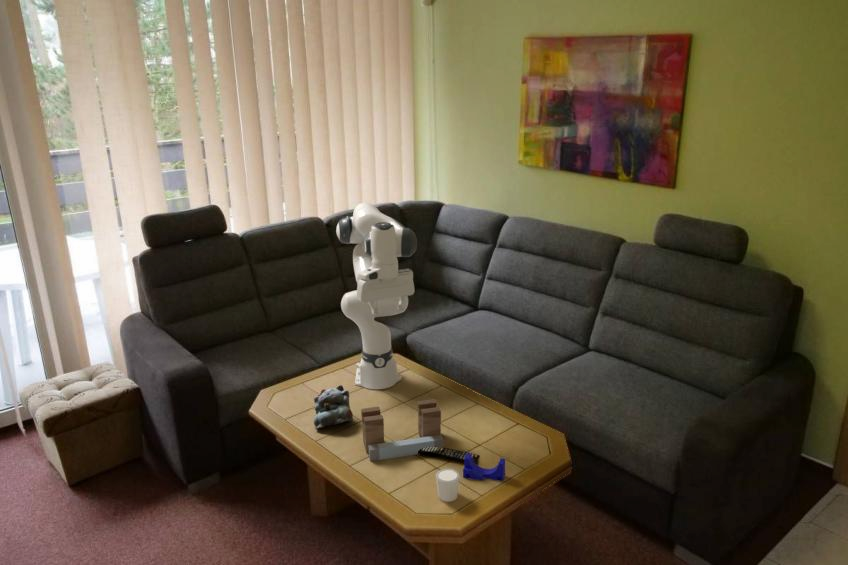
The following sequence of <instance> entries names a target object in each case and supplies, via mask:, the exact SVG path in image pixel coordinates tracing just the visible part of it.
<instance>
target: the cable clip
mask: <svg viewBox="0 0 848 565" xmlns="http://www.w3.org/2000/svg"><path fill="white" fill-rule="evenodd" d="M472 455H473V454H472V453H471V452H466V454H465V455H464V457H463V460H464V462H463V464H464V465H463V469H462V478H464V479H469V480H470V479H471V480H476V481H481V482H482V481H483V480H484V479H487V480H493V481H500V482H504V480H505V477H506V458H504V457H503V458H502V457H500V458H499V462H498V464H497V465H496V466H495V467H491V468H484V467H482V466H479V464H477V463H476V462H475V460H474V459H473V456H472Z"/></svg>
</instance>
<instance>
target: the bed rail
mask: <svg viewBox="0 0 848 565" xmlns="http://www.w3.org/2000/svg"><path fill="white" fill-rule="evenodd" d="M426 447H441V448H443V449H444V438H443V436H442V434H441V435H435V436H428V437H421V438H420V437H417V438H409V439H403V440H401V439H400V440H395V441H388V442H384V443H381V444H374V445H368V449H369V453H368V458H369V462H374V461H382V460H388V459H393V458H401V457H407V456H408V457H409V456H415V455H418V454H417V453H418V451H419V450H420V449H422V448H426ZM414 454H415V455H414Z"/></svg>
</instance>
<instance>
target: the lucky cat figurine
mask: <svg viewBox="0 0 848 565" xmlns="http://www.w3.org/2000/svg"><path fill="white" fill-rule="evenodd" d="M313 402H314V410H315V414H316V415H315V417H313V425H314V426H315V427H314V429H317V430H318V429H322V428H324V427H329V426H334V425H337V424H342V423H346V422H350V421H353V420H354V417H353V416H354V415H353V412H352V410H351V406H350V392H349V390H347V389H344V387H343V385H341V384H340V385H338V386H337V387H335V388H334V387H332V388H329V389H325V388H324V389H321V391H320V394H318V395H315V397H313Z"/></svg>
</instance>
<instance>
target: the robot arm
mask: <svg viewBox="0 0 848 565" xmlns="http://www.w3.org/2000/svg"><path fill="white" fill-rule="evenodd" d="M335 232H336V237H337V238H338V240H339V242H340V243H341V244H343V245H345V244H346V245H350V244H356V245H355V247H354V248H353V252H352V264H353V272H354V276H355V281H356V284H357V287H356V290H352V291H348V292H345V293H344V294H343V296H342V298H341V301H340V308H341V311H342V312H343V314H344V315H345V317H347V318H348V319H350V320H351V321H352V322H354V323H355V324H356V325H357V327H358V329H359V331H360V334H361V342H362V349H361V359H360V362H357V363H356V372H355V379H354V385H355V386H358V387H363V388H366V389H368V390H384V389H389V388H391V387H393V386H394V385H396V383H397V382H400V381H401V380H403V379H402V376H401V374H400V373H399V372H398V365H397V363H398V362H397V360H395V359H394V358H393V348H392V340H391V330H390V328H389V327H388V326H387V325H385V324H384V323H381V322H378V321H376V320H375V318H379V317H387V316H389V317H390V316H395V315H398V314H402V313H404V312H405V311H406V310H407V308H408V305H409V296H413V295H414V293H415V283H414V272H413V270H412V269H410V268H401V269H399V260H398V258H400V257H401V258H402V257H403V258H410V257H412V255H413V254H415V252H417V248H418V238H417V236H416V234H415V232H414V231H413V230H412V229H411V228H409V227H405V226H404V225H403V224H402V223H401V222H399V221H398V220H397V219H395V218H393V217H391V216H388V215H386V214H384V213H382V212H380V210H379V208H377V207H376V206H375V205H374V204H373V203H370V202H367V201H366V202H364V201H363V202H360V203H358V204H357V205H356V206H355V207H354V209H353V214H352V216H349V215H346V216H344V217H342V218H340V219H339V221H338V222H337V225H336V230H335Z"/></svg>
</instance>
